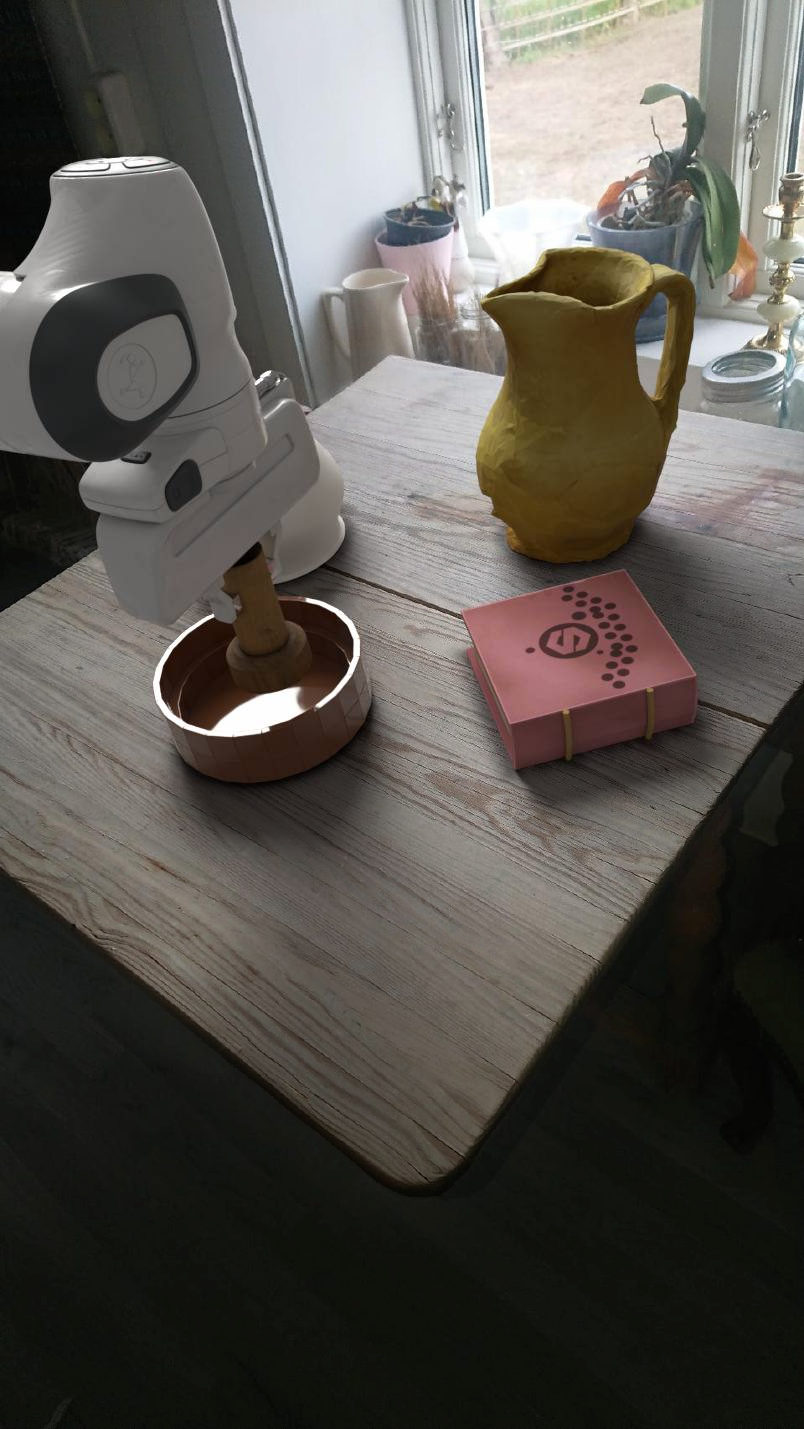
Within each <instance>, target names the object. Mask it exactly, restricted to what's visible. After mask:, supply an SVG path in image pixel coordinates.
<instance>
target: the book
mask: <svg viewBox="0 0 804 1429" xmlns="http://www.w3.org/2000/svg"><path fill="white" fill-rule="evenodd" d="M460 615H461V619H462V621H463V623H464V626H465V628H466V631H467V633H468V636H469V637H470V640H471V642H472V645H473V647H471V648H466V649H465V650H466V651H465V652H466V656H467V659H468V661H469V664H470V666H471V669H472V671H473V674H474V676H475V678H476V681H477V683H478V685H479V688H480V690H481V692H482V695H483V697H484V699H485V703H486V704H487V706H488V710H489V712H490V714H491V716H492V719H493V722H494V724H495V726H496V728H497V731H498V733H499V736H500V738H501V740H502V743H503V745H504V748H505V750H506V753H507V755H508V757H509V760H510V762H511V764H512V768H513V769H514V771H516V770H517V771H518V770H520V769H525V768H529V767H532V766H536V765H540V764H543V763H547V762H550V761H554V760H558V759H562V758H564V760H565V761H568V762H569V761H571V760H572V756H574V755H577V754H582V753H585V752H588V751H592V750H597V749H600V748H604V747H607V746H611V745H612V746H613V745H615V744H619V743H622V742H626V741H630V740H634V739H638V738H642V737H645V739H647V740H652V736H653V734H657V733H660V732H665V731H668V730H672V729H675V728H680V727H683V726H687V725H691V724H694V722H695V719H696V715H697V712H698V701H699V686H698V674H697V673H696V672H695V671H694V669H693V667H692V665H691V664H690V663H689V661H688V660H687V658H686V657H685V655H684V654H683V652H682V651H681V650H680V648H679V647H678V644H676V643H675V641H674V639H673V638H672V636H671V635H670V634H669V632H668V631H667V629H666V627H665V626H664V625H663V623H662V621H661V620H660V619H659V617H658V616H657V614H656V613H655V611H654V610H653V609H652V607H651V606H650V604H649V602H648V601H647V600H646V598H645V597H644V595H643V593H642V592H641V590H640V589H639V588H638V586H637V585H636V583H635V582H634V580H633V579H632V577H631V576H630V575H629V573H628V572H627V570H626V569H625V568H622V569H618V570H614V571H611V572H607V573H606V572H605V573H602V574H599V575H594V576H590V577H586V578H583V579H578V580H574V581H571V582H567V583H562V584H559V585H556V586H552V587H547V588H543V589H539V590H536V591H535V590H534V591H532V592H528V593H524V594H520V595H516V596H512V597H508V598H504V599H500V600H497V601H493V602H489V603H484V604H481V605H477V606H473V607H470V608H465V609H461V610H460Z"/></svg>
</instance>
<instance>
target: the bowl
mask: <svg viewBox="0 0 804 1429" xmlns="http://www.w3.org/2000/svg"><path fill="white" fill-rule="evenodd" d="M277 598H278V601H279V605H280V608H281V611H282V614H283V617H284V620H285V621H290V622H293V623H295V624H297V625H299V626H300V627H301V628H302V629H303V630H304V632H305V634H306V637H307V640H308V643H309V646H310V649H311V653H312V664H311V667H310V669H309V671H308V672H307V673H306V674H305V675H304V676H303V678H302V679H301V680H300V681H299V682H297V683H296V684H294V685H293V686H291V687H289V688H287V689H284V690H282V691H279V692H274V693H268V694H254V693H249V692H246V691H244V690H242V689H240V688H239V687H238V686H237V685H236V683H235V682H234V680H233V677H232V674H231V671H230V668H229V665H228V663H227V659H226V653H227V649H228V647H229V645H230V643H231V642H232V640H233V639H234V638H235V637H236V636H237V635H236V632H235V630H234V627H233V624H232V623H226V622H222V621H219V620H217V619H216V618H215V617H214V615H213V613H211V614H210V615H207V616H205V617H203V618H202V619H200V620H199V621H197V622H196V623H194V624H193V625H191V626H190V627H188V628H187V629H186V630H184V631H183V632H182V633H181V634H180V635H179V636H178V637H177V638H176V639H175V640H174V641H173V642H172V643H171V644H169V646H168V647H167V648H166V650H165V652H164V653H163V655H162V656H161V659H160V660H159V662H158V663H157V664H156V668H155V672H154V675H153V680H152V691H153V697H154V702H155V706H156V707H157V709H158V712H159V714H160V717H161V718H162V721H163V723H164V725H165V728H166V730H167V731H168V734H169V736H170V738H171V741H172V743H173V746H174V747H175V748H176V750H177V751H178V753H179V755H180V756H181V758H182V759H183V761H184V762H185V763H186V764H188V765H189V766H191V767H192V768H194V769H195V770H196V771H198V772H199V773H200V774H202V775H205V776H207V777H211V778H214V779H217V780H220V781H224V782H230V783H231V782H232V783H241V784H242V783H243V784H255V783H256V784H257V783H264V782H272V781H278V780H281V779H284V778H288V777H290V776H294V775H296V774H300V773H303V772H306V771H309V770H310V769H312V768H314V767H315V766H318V765H319V764H321V763H323V762H325V761H327V760H329V759H330V758H331V757H333V756H334V755H335V754H336V753H338V752H339V751H340V750H341V749H342V748H344V747H345V746H346V745H347V744H348V743H350V742H351V741H352V739H353V738H354V736H356V734H357V733H358V732H359V730H360V729H361V727H362V726H363V724H364V723H365V721H366V719H367V716H368V713H369V710H370V707H371V704H372V682H371V677H370V673H369V669H368V664H367V661H366V660H367V659H366V657H365V653H364V648H363V643H362V639H361V636H360V634H359V632H358V629H357V628H356V625H355V622H353V620H352V619H350V618H349V617H348V616H347V615H346V614H345V613H344V612H343V611H342V610H341V609H338V608H337V607H335V606H333V605H331V604H329V603H327V602H324V601H322V600H318V599H312V598H309V597H305V596H296V595H295V596H293V595H291V596H289V595H277Z"/></svg>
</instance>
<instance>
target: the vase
mask: <svg viewBox="0 0 804 1429" xmlns="http://www.w3.org/2000/svg"><path fill="white" fill-rule="evenodd" d="M237 315H238V311H237V308H236V305H234V322H235V321H236V319H237ZM253 378H254V382H256V381H257V380H256V378H255V377H254V376H253ZM313 438H314V441H315V444H316V447H317V451H318V454H319V458H320V462H321V469H320V475H319V480H318V482H317V484H316V485H315V486H314V487H313V488H312V489H310V490H309V491H308V492H307V493H306V494H305V495H304V496H303V497H302V498H301V499H300V500H299V501H298V502H297V503H296V504H295V505H294V506H293V507H292V508H291V509H290V510H289V511H288V512H287V513H286V514H285V515H284V516H283V517H282V518H281V519H280V521H281V525H282V534H281V541H280V548H279V554H278V557H279V561H280V564H281V568H282V572H281V573H280V574H279V575H278V576H277V577H276V578H275V579H274V580H273V581H272V582H273V585H276V584H282V583H285V582H289V581H291V580H295V579H298V578H300V577H302V576H305V575H306V574H309V573H310V572H313V571H314V570H316V569H318V568H319V567H320V566H322V565H323V564H324V563H326V562H327V561H329V560H330V559H331V558H332V557H333V556H334V555H335V554H336V552H337V551H338V550H339V549H340V547H341V546H342V544H343V542H344V539H345V535H346V524H345V522H344V520H343V517H341V515H340V512H341V509H342V506H343V501H344V496H345V481H344V477H343V474H342V471H341V469H340V466H339V465H338V462H336V460H335V459H334V457H333V456H332V455H331V454H330V453H329V451H328V450H327V449H326V448H325V447H324V446H323V445H322V444H321V443H320V442H319V441H318V440H317V439H316V438H315V437H314V436H313Z"/></svg>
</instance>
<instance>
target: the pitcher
mask: <svg viewBox="0 0 804 1429" xmlns="http://www.w3.org/2000/svg"><path fill="white" fill-rule="evenodd" d="M659 293H662V294H663V295H664V296H665V297H666V326H665V331H664V336H663V346H662V354H661V357H660V364H659V367H658V370H657V375H656V376H657V377H656V382H655V386H654V387H655V388H654V393H653V396H650V395H649V394H648V392H646V390H645V389H644V386H643V385H642V383H641V380H640V376H639V375H640V374H639V367H638V366H639V365H638V355H637V354H638V353H637V343H636V328H637V327H638V324H639V321H640V318H641V317H642V315H643V314H644V313H645V312H646V310H647V309H648V308H649V307H650V306H651V305H652V303H653V300H654V299H655V298H656V296H657V295H658V294H659ZM479 304H480V306H481V310H482V311H483V312H485V313H486V314H487V315H488V316H489V317H490V318H491V319H492V321H493V322H494V323H495V324H496V325H497V326H498V327H499V329H500V331H501V333H502V337H503V338H504V339H503V340H504V346H505V347H504V348H505V373H504V379H503V381H502V386H501V388H500V390H499V393H498V394H497V397H496V399H495V401H494V403H493V404H492V406H491V408H490V409H489V413H488V414H487V417H486V418H485V422H484V424H483V426H482V428H481V431H480V434H479V438H478V443H477V447H476V452H475V457H474V458H475V467H476V469H475V470H476V476H477V482H478V487H479V490H480V492H481V495H483V496H485V497H488V498H490V500H491V504H492V507H493V509H492V511H491V512H490V515H491V516H492V517H495V518H496V519H498V520H499V521H502V522H503V523H504V524H505V525H507V526H506V528H507V529H506V531H505V534H506V535H505V539H506V542H507V544H508V547H509V548H510V549H511V550H512V551H514V552H516V553H518V554H520V553H521V554H522V555H525V556H526V557H529V558H530V559H536V560H539V561H541V560H542V561H543V562H545V561H546V562H547V563H551V564H567V563H571V562H572V563H574V562H575V563H579V562H580V563H582V562H584V561H585V562H592V561H595V560H600V559H604V558H606V557H607V556H608V555H609V554H612V553H613V552H617V551H618V550H619V548H620V547H622V546H624V544H627V543H628V540H629V539H630V537H631V535H632V532H633V530H634V529H633V528H634V526H635V520H636V519H637V518H638V517H639V516H641V514H642V513H643V512H644V511H646V509H648V507H650V505H651V502H652V500H653V498H654V496H655V494H656V491H657V487H658V483H659V480H660V477H661V475H662V472H663V469H664V466H665V463H666V460H667V456H668V450H669V446H670V442H671V439H672V435H673V433H674V432H675V430H676V429H677V428H678V425H677V423H678V420H679V404H680V400H681V391H682V390H683V388H684V386H685V384H686V382H687V379H686V378H687V371H688V366H689V361H690V357H691V350H692V345H693V344H692V343H693V340H694V333H695V318H696V310H697V295H696V288H695V285H694V283H693V281H692V280H691V278H689V277H688V276H687V274H684V273H682V272H680V271H679V270H677V269H676V270H675V269H672V268H670V267H669V266H667V265H664V264H661V263H654V264H651V263H650V262H649V261H648V260H646V259H645V258H644V257H643V256H641V255H639V254H636V253H635V252H630V251H624V250H622V249H619V248H612V247H611V248H610V247H602V246H573V247H559V248H557V247H556V248H555V247H554V248H548V249H546V250H543V252H542V253H541V254H540V256H539V258H538V260H537V263H536V265H535V266H534V268H533V269H531V270H530V271H529V272H528V273H527V274H526V275H523V276H521V277H519V278H517V279H514V280H512V281H510V282H506V283H504V284H503V285H500V286H498V287H495V288H493V289H491V291H489V292H488V293H487V294H486V295H484V296H483V297H482V299H481V301H480V302H479Z"/></svg>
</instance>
